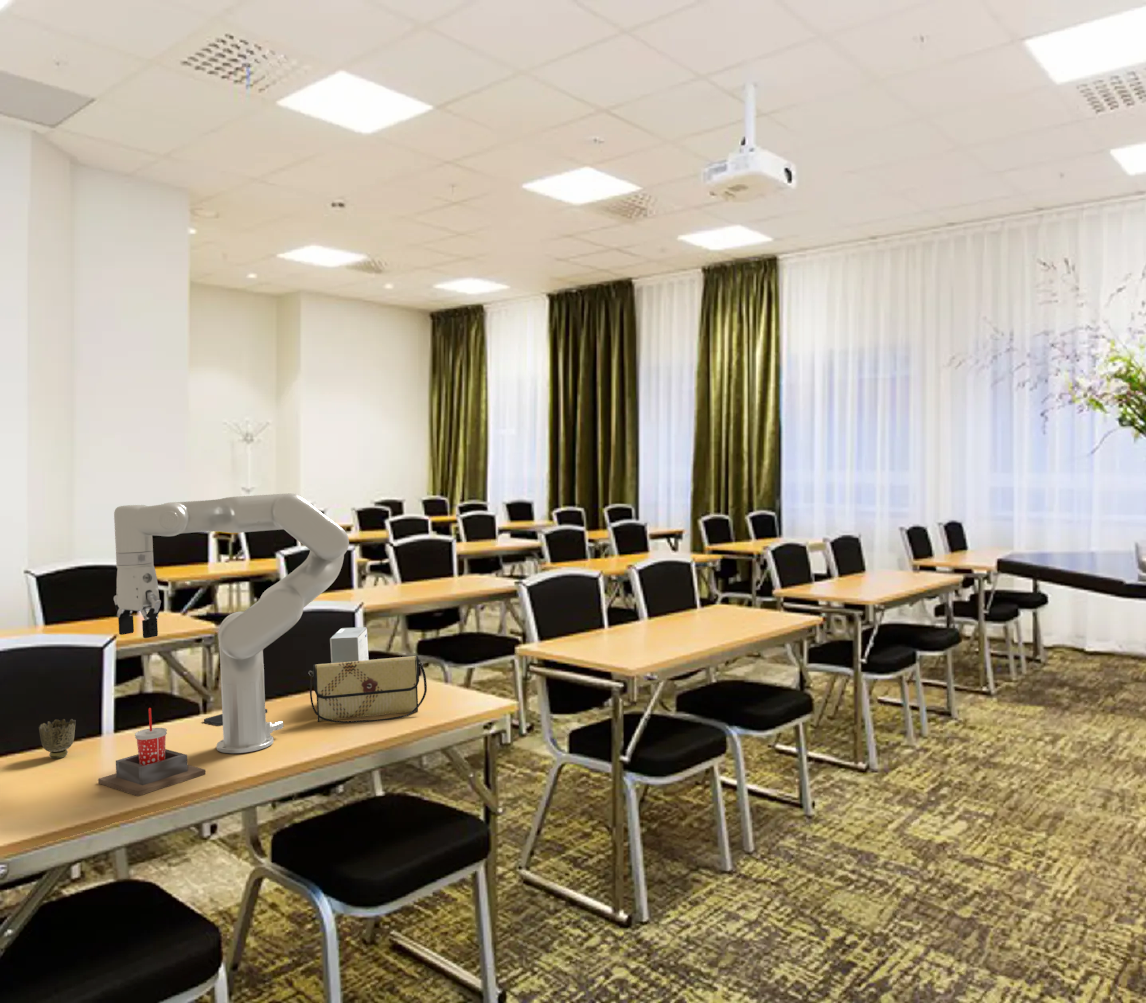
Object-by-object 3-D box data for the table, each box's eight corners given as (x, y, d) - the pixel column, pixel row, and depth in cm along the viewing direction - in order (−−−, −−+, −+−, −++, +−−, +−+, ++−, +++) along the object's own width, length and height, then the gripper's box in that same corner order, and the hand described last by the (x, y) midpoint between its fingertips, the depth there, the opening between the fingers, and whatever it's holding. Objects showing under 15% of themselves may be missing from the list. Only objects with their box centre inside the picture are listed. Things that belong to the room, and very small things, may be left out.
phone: (269, 709, 242) (220, 723, 229) (269, 713, 242) (220, 727, 229) (250, 705, 246) (201, 719, 233) (250, 710, 246) (201, 723, 233)
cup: (32, 762, 204) (30, 727, 203) (55, 751, 211) (53, 718, 211) (62, 762, 203) (60, 727, 202) (84, 752, 210) (82, 718, 210)
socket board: (165, 763, 200) (164, 743, 200) (205, 774, 191) (204, 753, 191) (98, 783, 187) (97, 762, 187) (137, 796, 179) (136, 774, 179)
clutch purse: (310, 728, 225) (308, 669, 224) (310, 721, 231) (308, 663, 231) (429, 716, 233) (427, 658, 233) (426, 709, 240) (424, 653, 239)
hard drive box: (343, 697, 256) (341, 627, 255) (370, 695, 256) (368, 626, 256) (332, 711, 240) (329, 637, 240) (361, 710, 241) (358, 636, 240)
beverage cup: (160, 767, 194) (157, 703, 193) (174, 772, 190) (171, 707, 189) (131, 775, 189) (128, 709, 189) (145, 780, 185) (141, 713, 185)
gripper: (172, 559, 200) (175, 635, 200) (130, 557, 209) (133, 630, 210) (140, 562, 193) (143, 641, 194) (98, 560, 203) (101, 635, 204)
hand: (138, 635), depth 202 cm, fingers open, 9 cm apart
